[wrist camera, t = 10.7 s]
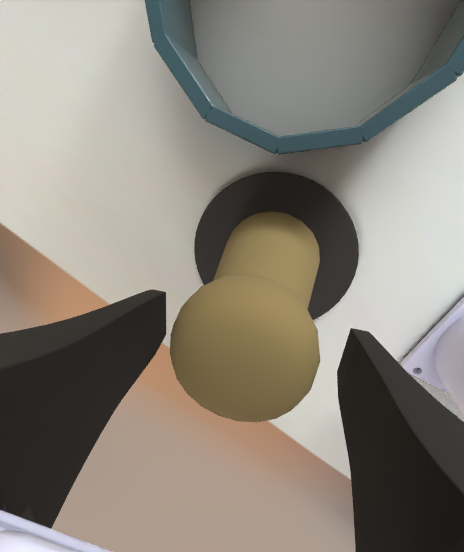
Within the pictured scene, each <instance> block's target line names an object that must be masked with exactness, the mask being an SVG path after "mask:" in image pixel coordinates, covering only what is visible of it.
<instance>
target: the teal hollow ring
mask: <svg viewBox="0 0 464 552" xmlns="http://www.w3.org/2000/svg"><path fill="white" fill-rule="evenodd" d="M145 4H146V10H147V15H148V21H149V26H150V32H151V37H152V41H153V43H155V44H154V47H155V49H156V50H157V52H158V53H159V55H160V56H161V58H162V59H163V60H164V62H165V63H166V65H167V66H168V68H169V69H170V71H171V72H172V74H173V75H174V77H175V78H176V80H177V81H178V83H179V84H180V86H181V87H182V89H183V90H184V92H185V93H186V94H187V96H188V97H189V99H190V100H191V102H192V103H193V105H194V106H195V108H196V109H197V111H198V112H199V114H200V115H201V117H202V118H203V119H205V120H206V121H207V122H209V123H211V124H213V125H215V126H217V127H219V128H221V129H223V130H225V131H228V132H230V133H232V134H234V135H236V136H238V137H240V138H242V139H244V140H246V141H248V142H251V143H253V144H255V145H257V146H259V147H261V148H263V149H265V150H267V151H269V152H272V153H274V154H276V153H278V154H286V153H294V152H302V151H310V150H318V149H326V148H334V147H342V146H350V145H358V144H362V142H367V141H369V140H370V139H371V138H373V137H374V136H376V135H377V134H379V133H380V132H382V131H383V130H385V129H386V128H387V127H389V126H390V125H392V124H393V123H395V122H396V121H398V120H399V119H401V118H402V117H403V116H405V115H406V114H408V113H409V112H411V111H412V110H414V109H415V108H417V107H418V106H419V105H421V104H422V103H424V102H425V101H427V100H428V99H430V98H431V97H433V96H434V95H436V94H437V93H438V92H440V91H441V90H443V89H444V88H446V87H447V86H449V85H450V84H452V83H453V82H454V81H456V79H457V77H459V76H461V75H462V73H463V72H464V0H460V3H459V5H458V6H457V8H456V10H455V11H454V13H453V15H452V16H451V18H450V20H449V21H448V23H447V25H446V26H445V28H444V30H443V31H442V33H441V35H440V36H439V38H438V40H437V41H436V43H435V45H434V46H433V48H432V50H431V51H430V53H429V55H428V56H427V58H426V60H425V61H424V63H423V65H422V66H421V68H420V70H419V71H418V73H417V75H416V76H415V78H414V80H413V81H412V83H411V85H410V86H408V87H407V88H406V89H404V90H403V91H401V92H400V93H399V94H397V95H396V96H394V97H393V98H392V99H390V100H389V101H388V102H386V103H385V104H383V105H382V106H381V107H379V108H378V109H377V110H375V111H374V112H372V113H371V114H370V115H368V116H367V117H365V118H364V119H363V120H361V121H360V122H359V123H357V124H356V125H354V126H353V127H346V128H339V129H332V130H325V131H318V132H310V133H303V134H296V135H289V136H282V137H279V136H277V135H275V134H273V133H271V132H269V131H267V130H265V129H263V128H260V127H258V126H256V125H254V124H252V123H250V122H248V121H246V120H244V119H241V118H239V117H237V116H235V115H233V114H232V112H231V111H230V109H229V108H228V106H227V105H226V103H225V102H224V100H223V99H222V97H221V95H220V94H219V92H218V91H217V89H216V88H215V86H214V85H213V83H212V82H211V80H210V79H209V77H208V76H207V74H206V72H205V71H204V69H203V68H202V66H201V65H200V63H199V62H198V60H197V53H196V46H195V38H194V31H193V24H192V16H191V9H190V1H189V0H145Z"/></svg>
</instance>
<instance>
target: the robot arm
mask: <svg viewBox="0 0 464 552" xmlns="http://www.w3.org/2000/svg"><path fill="white" fill-rule="evenodd" d="M165 335H166V292H163V291H157V290H148V291H145V292H142V293H139V294H137V295H134V296H131V297H129V298H126V299H124V300H121V301H119V302H116V303H113V304H111V305H108V306H106V307H103V308H100V309H97V310H94V311H91V312H89V313H86V314H83V315H80V316H77V317H73V318H71V319H67V320H63V321H59V322H55V323H52V324H48V325H44V326H38V327H34V328H29V329H24V330H19V331H14V332H9V333H2V334H0V552H112V551H109V550H107V549H104V548H101V547H99V546H96V545H93V544H91V543H88V542H85V541H83V540H80V539H77V538H75V537H72V536H69V535H66V534H64V533H61V532H58V531H56V530H53V529H51V528H52V526H53V524H54V522H55V520H56V518H57V516H58V514H59V512H60V510H61V508H62V506H63V503H64V502H65V500H66V497H67V495H68V493H69V491H70V489H71V487H72V486H73V483H74V482H75V480H76V478H77V476H78V474H79V472H80V470H81V469H82V467H83V465H84V463H85V461H86V459H87V457H88V456H89V454H90V452H91V450H92V448H93V447H94V445H95V443H96V441H97V440H98V438H99V436H100V434H101V432H102V431H103V429H104V427H105V426H106V424H107V422H108V421H109V419H110V417H111V415H112V414H113V412H114V411H115V409H116V407H117V406H118V404H119V403H120V402H121V400H122V399H123V397H124V396H125V395H126V393H127V392H128V390H129V389H130V388H131V386H132V385H133V384H134V382H135V381H136V380H137V378H138V377H139V375H140V374H141V373H142V372H143V370H144V369H145V368H146V366H147V365H148V363H149V362H150V361H151V359H152V358H153V356H154V355H155V354H156V352H157V350H158V348H159V347H160V345H161V343H162V341H163V339H164V337H165ZM415 368H419V369H418V370H414V369H415ZM410 374H411V375H413V376H415V377H417V378H419V379H421V380H423V381H425V382H427V383H429V384H431V385H433V386H435V387H437V388H439V389H441V390H443V391H445V392H447V393H449V394H450V396H451V397H452V399H453V401H454V403H455V404H456V406H457V408H458V409H459V411H460V413H461V414H462V416H463V418H464V297H463V298H462V299H461V300H460V301H459V302H458V303H457V304H456V305H455V306H454V307H453V308H452V309H451V310H450V311H449V312H448V313H447V314H446V315H445V317H444V318H443V319H442V320H441V321H440V322H439V323H438V324H437V325H436V326H435V327H434V328H433V329H432V330H431V331H430V332H429V333H428V334H427V335H426V336H425V337H424V338H423V339H422V340H421V342H420V343H419V344H418V345H417V346H416V347H415V348H414V349H413V350H412V351H411V352H410V353H409V354H408V355H407V356H406V357H405V358H404V359H403V360H402V362H401V365H400V364H399V363H398V362H397V361H396V360H395V359H394V358H393V357H392V356H391V355H390V354H389V353H388V351H387V350H386V349H385V348H384V347H383V346H382V345H381V344H380V343H379V342H378V341H377V340H376V339H375V337H374V336H373V335H372V334H371V333H369V332H367V331H362V330H357V329H352V328H351V330H350V333H349V336H348V339H347V342H346V346H345V349H344V352H343V355H342V358H341V361H340V365H339V368H338V371H337V379H338V399H339V405H340V411H341V417H342V423H343V428H344V434H345V440H346V445H347V451H348V457H349V463H350V471H351V482H352V495H353V509H354V527H355V544H356V552H464V422H463V421H461V420H460V419H459V418H458V417H457V416H455V415H454V414H453V413H452V412H451V411H449V410H448V409H447V408H446V407H444V406H443V405H442V404H441V403H440V402H439V401H437V400H436V399H435V398H434V397H433V396H432V395H431V394H430V393H429V392H427V391H426V390H425V389H424V388H423V387H422V386H421V385H420V384H419V383H418V382H417V381H416V380H415V379H414V378H413V377H412V376H411V375H410Z"/></svg>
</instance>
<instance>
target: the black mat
mask: <svg viewBox="0 0 464 552" xmlns="http://www.w3.org/2000/svg"><path fill="white" fill-rule="evenodd" d="M269 211H275V212H281V213H286V214H289V215H291V216H293V217H295V218H297V219H299V220H301V221H302V222H303V223H304V224H305V225H306V226H307V227H308V228H309V229H310V230H311V231H312V232H313V234H314V237H315V239H316V241H317V243H318V246H319V255H320V263H319V267H318V270H317V274H316V278H315V282H314V286H313V290H312V294H311V298H310V302H309V306H308V309H307V310H308V312H309V314H310V316H311V318H312V320H314V319H316V318H318V317H319V316H321V315H323V314H324V313H326V312H327V311H329V310H330V309H331V308H332V307H333V306H335V305H336V304H337V303H338V302H339V301H340V299H341V298H342V297H343V296H344V295H345V293H346V291H347V290H348V288H349V287H350V285H351V283H352V280H353V278H354V276H355V272H356V268H357V264H358V256H359V252H358V240H357V234H356V231H355V228H354V225H353V222H352V220H351V218H350V216H349V214H348V212H347V211H346V209H345V208H344V207H343V205H342V204H341V202H340V201H339V200H338V199H337V198H336V197H335V196H334V195H333V194H332V193H331V192H329V191H328V190H327V189H326V188H324V187H323V186H321V185H320V184H318V183H316V182H314V181H313V180H310V179H308V178H305V177H303V176H299V175H295V174H291V173H282V172H266V173H261V174H255V175H252V176H249V177H246V178H243V179H241V180H239V181H237V182H235V183H233V184H231V185H230V186H228V187H227V188H225V189H224V190H223V191H221V192H220V193H219V194H218V195H217V196H216V197H215V198H214V199H213V200H212V202H211V203H210V204H209V205H208V207H207V208H206V210H205V212H204V213H203V215H202V217H201V220H200V222H199V225H198V228H197V231H196V237H195V260H196V265H197V269H198V272H199V275H200V277H201V280H202V282H203V283H204V285H206V284H208V283H210V282H213V280H214V277H215V274H216V272H217V269H218V266H219V263H220V260H221V258H222V255H223V252H224V249H225V246H226V244H227V241H228V239H229V237H230V235H231V233H232V231H233V230H234V229H235V228H236V227H237V226H238V225H239V224H240V223H241V222H242V221H243V220H244V219H246V218H248V217H250V216H252V215H254V214H256V213H262V212H269Z"/></svg>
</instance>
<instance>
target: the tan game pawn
mask: <svg viewBox="0 0 464 552" xmlns="http://www.w3.org/2000/svg"><path fill="white" fill-rule="evenodd" d="M319 263H320V255H319V246H318V243H317V241H316V239H315V237H314V234H313V232H312V231H311V230H310V229H309V228H308V227H307V226H306V225H305V224H304V223H303V222H302V221H301V220H299V219H297V218H295V217H293V216H291V215H289V214H286V213H281V212H275V211H269V212H262V213H256V214H254V215H252V216H250V217H248V218H246V219H244V220H243V221H242V222H241V223H240V224H239V225H238V226H237V227H236V228H235V229H234V230H233V231H232V233H231V235H230V237H229V239H228V241H227V244H226V246H225V249H224V252H223V255H222V258H221V260H220V263H219V266H218V269H217V272H216V274H215V277H214V280H213V282H210V283H208V284H206V285H204V286H202V287H201V288H200V289H199V290H198V291H197V292H196V293H195V294H194V295H192V296H191V297H190V298H189V299H188V300H187V302H186V303H185V304H184V305H183V306H182V308H181V310H180V312H179V314H178V316H177V319H176V321H175V323H174V325H173V329H172V332H171V342H170V355H171V360H172V364H173V367H174V370H175V374H176V377H177V379H178V381H179V382H180V384H181V385H182V387H183V388H184V390H185V391H186V392H187V394H188V395H190V396H191V397H192V398H193V399H194V400H195V401H196V402H197V403H198V404H200V405H201V406H202V407H204V408H206V409H208V410H209V411H211V412H213V413H215V414H217V415H219V416H222V417H225V418H229V419H232V420H236V421H245V422H261V421H266V420H271V419H276V418H278V417H280V416H282V415H283V414H285V413H287V412H289V411H291V410H292V409H293V408H294V407H295V406H296V405H297V404H298V403H299V402H300V401H301V400H302V399H303V398H304V397H305V396H306V394H307V393H308V392H309V391H310V390H311V387H312V384H313V381H314V378H315V375H316V372H317V369H318V366H319V363H320V354H319V342H318V332H317V328H316V326H315V324H314V322H313V320H312V318H311V316H310V314H309V312H308V310H307V309H308V306H309V302H310V298H311V294H312V290H313V286H314V282H315V278H316V274H317V270H318V267H319Z"/></svg>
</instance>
